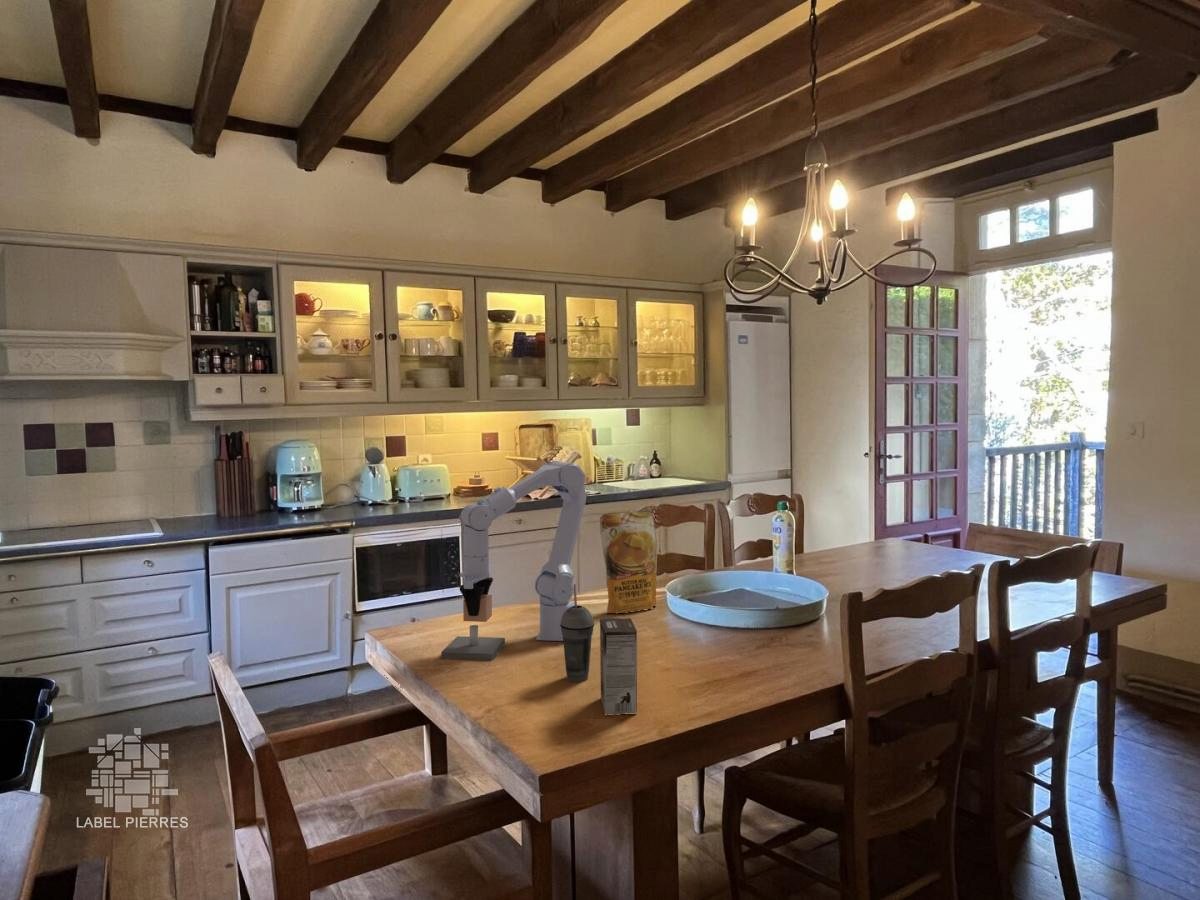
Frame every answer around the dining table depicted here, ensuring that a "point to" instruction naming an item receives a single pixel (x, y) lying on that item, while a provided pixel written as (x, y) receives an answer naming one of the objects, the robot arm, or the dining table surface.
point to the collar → (480, 610)
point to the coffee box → (618, 665)
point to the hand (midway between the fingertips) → (477, 612)
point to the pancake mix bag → (629, 560)
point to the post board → (473, 646)
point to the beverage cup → (577, 640)
